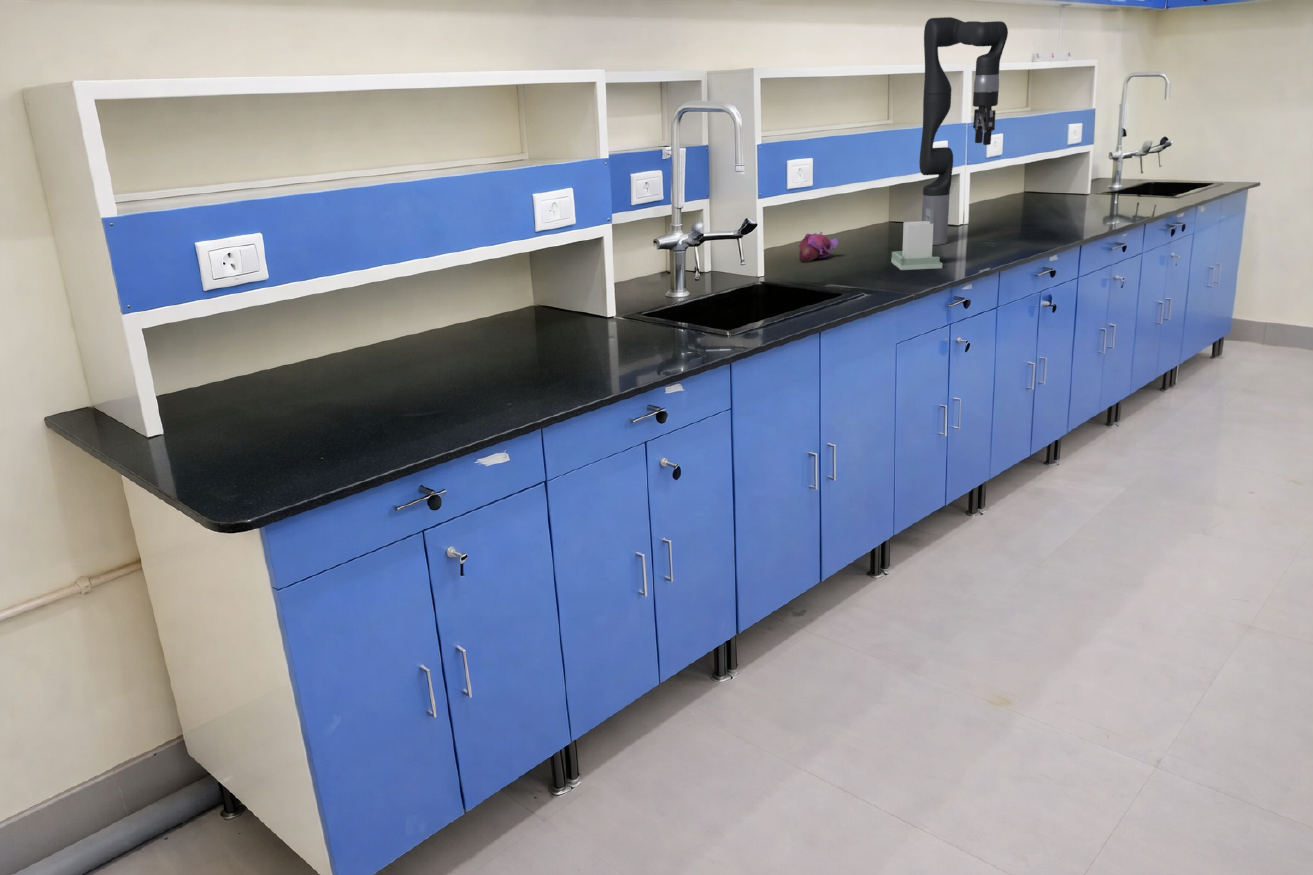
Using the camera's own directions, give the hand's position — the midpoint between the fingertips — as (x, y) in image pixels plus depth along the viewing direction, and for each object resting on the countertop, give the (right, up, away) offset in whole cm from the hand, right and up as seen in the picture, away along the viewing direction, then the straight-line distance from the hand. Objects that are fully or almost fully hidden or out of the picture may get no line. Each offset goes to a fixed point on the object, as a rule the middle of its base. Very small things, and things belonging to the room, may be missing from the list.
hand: (982, 144), depth 313 cm
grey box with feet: (-20, -37, +3) cm, 42 cm away
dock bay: (-20, -38, +4) cm, 43 cm away
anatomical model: (-50, -33, +23) cm, 64 cm away
